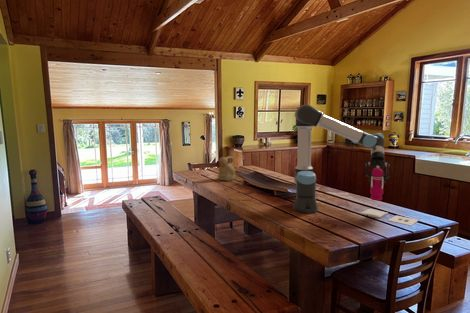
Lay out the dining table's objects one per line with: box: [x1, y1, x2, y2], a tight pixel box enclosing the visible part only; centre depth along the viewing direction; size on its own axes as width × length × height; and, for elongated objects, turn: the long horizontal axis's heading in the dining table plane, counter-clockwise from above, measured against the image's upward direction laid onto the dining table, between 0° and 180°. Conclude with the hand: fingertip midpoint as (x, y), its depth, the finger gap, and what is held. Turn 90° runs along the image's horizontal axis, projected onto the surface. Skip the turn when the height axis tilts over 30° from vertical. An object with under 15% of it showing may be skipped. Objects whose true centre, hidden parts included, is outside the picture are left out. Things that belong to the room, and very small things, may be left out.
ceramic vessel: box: [217, 151, 236, 182], centre depth 291 cm, size 17×20×25 cm
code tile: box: [387, 215, 420, 227], centre depth 178 cm, size 12×12×1 cm
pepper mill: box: [369, 166, 384, 202], centre depth 187 cm, size 7×7×20 cm
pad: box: [360, 208, 389, 219], centre depth 189 cm, size 11×11×1 cm
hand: (377, 186), depth 183 cm, fingers closed on pepper mill, 5 cm apart
